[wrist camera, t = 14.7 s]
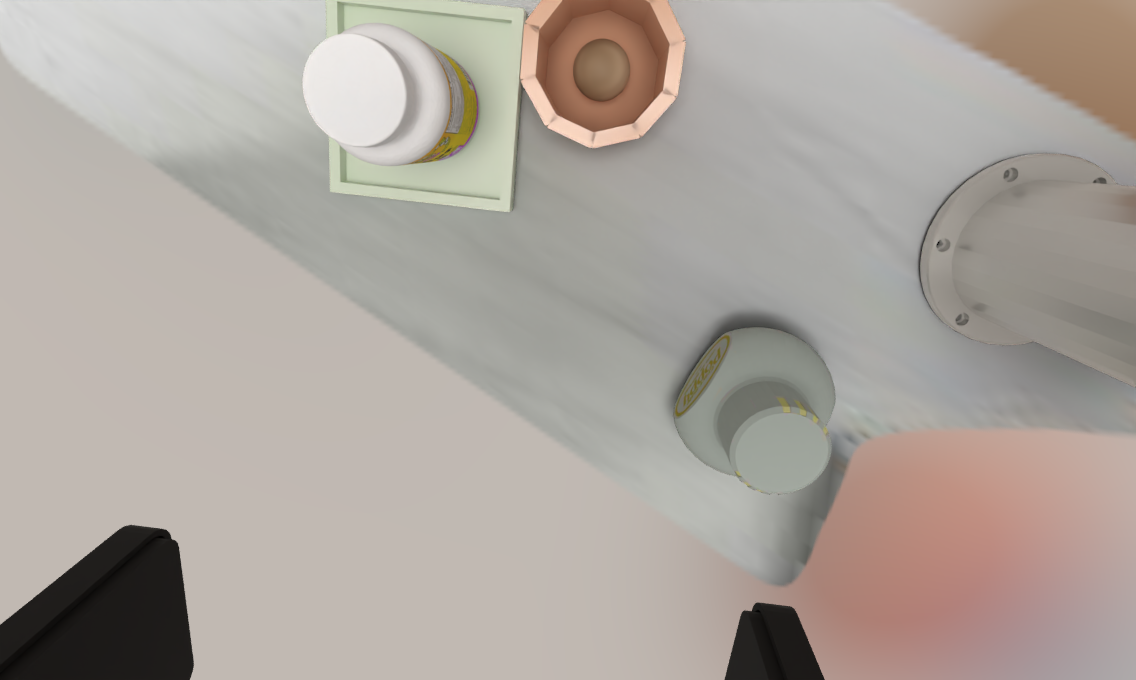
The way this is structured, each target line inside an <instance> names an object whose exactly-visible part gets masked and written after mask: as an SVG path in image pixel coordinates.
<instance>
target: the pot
mask: <svg viewBox="0 0 1136 680" xmlns="http://www.w3.org/2000/svg"><path fill="white" fill-rule="evenodd" d="M525 23H526V24H524V32H523V46H522V60H521V73H520V79H521V80H522V81H521V83H522V84H523V86H524V88H525V90H526V92H527V94H528V95H529V97H530V99H531V101H532V103H533V104H534V106H535V108H536V110H537V112H538V113H539V115H540V117H541V119H542V121H543V123H544V124H545V126H547V128H549V129H551V130H553V131H555V132H557V133H559V134H561V135H564V136H566V137H568V138H570V139H572V140H574V141H576V142H578V143H581V144H583V145H585V146H587V147H589V148H592V147H593V148H598V147H602V146H607V145H611V144H616V143H620V142H625V141H629V140H634V139H638V138H640V137H642V136H643V135H644V134H645V133H646V132H647V131H648V130H649V129H650V127H651V126H652V125H653V124H654V123H655V122H656V121H657V120H658V118H659V117H660V116H661V115H662V114H663V113H664V112H665V111H666V109H667V108H668V107H669V106H670V105H671V104H672V103H673V102H674V101H675V99H676V97H677V96H678V90H679V83H680V77H681V70H682V64H683V57H684V51H685V44H686V42H684V40H685V37H684V35H683V33H682V31H681V28H680V26H679V24H678V22H677V20H676V18H675V16H674V13H673V11H672V9H671V7H670V5H669V3H668V1H667V0H541V2H540V3H539V4H538V6H537V7H536V8H535V9H534V11H533V12H532V13H531V15H530V16H529V17H528V19H527V20H526V21H525ZM596 39H609V40H612V41H614V42H616V43H617V44H619V45H620V46H621V47H622V48H623V49H624V51H625V52H626V54H627V56H628V59H629V63H630V76H629V80H628V83H627V85H626V87H625V88H624V90H623V91H622V92H621V93H620V94H619V95H618V96H616V97H615V98H613V99H611V100H607V101H594V100H591V99H589V98H587V97H586V96H584V95H583V94H582V93H581V92H580V91H579V89H578V88H577V86H576V84H575V81H574V77H573V65H574V61H575V58H576V56H577V54H578V52H579V51H580V49H581V48H582V47H583V46H584V45H586V44H587V43H588V42H590V41H593V40H596Z"/></svg>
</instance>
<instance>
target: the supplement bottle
mask: <svg viewBox="0 0 1136 680" xmlns="http://www.w3.org/2000/svg"><path fill="white" fill-rule="evenodd" d="M302 87H303V95H304V99H305V102H306V105H307V108H308V111H309V112H310V114H311V116H312V118H313V120H314V121H315V123H316V124H317V125H318V126H319V127H320V128H321V129H322V130H323V131H324V132H325V133H326V134H327V135H328V136H330V137H331V138H332V139H334V140H335V141H336V142H337V143H338V144H339V145H340V146H341V147H342V148H343V149H344V150H346V151H347V152H348V153H350V154H351V155H353V156H355V157H356V158H358V159H360V160H363V161H365V162H368V163H371V164H375V165H380V166H400V165H409V164H418V163H426V162H434V161H440V160H444V159H447V158H449V157H452V156H454V155H455V154H457V153H458V152H460V151H461V150H462V149H463V148H464V147H465V146H466V145H467V144H468V143H469V142H470V140H471V138H472V137H473V135H474V133H475V130H476V128H477V124H478V120H479V99H478V94H477V91H476V88H475V85H474V83H473V81H472V79H471V78H470V76H469V75H468V73H467V72H466V71H465V69H464V68H463V67H462V66H461V65H460V64H459V63H458V62H456V61H455V60H454V59H453V58H451V57H450V56H448V55H447V54H445V53H443V52H442V51H440V50H438V49H436V48H434V47H433V46H431V45H429V44H428V43H426V42H424V41H422V40H421V39H419V38H418V37H416V36H414V35H413V34H411V33H409V32H407V31H405V30H403V29H401V28H399V27H396V26H393V25H389V24H383V23H365V24H360V25H356V26H353V27H351V28H349V29H347V30H345V31H344V32H342V33H340V34H337V35H334V36H331V37H329V38H327V39H325V40H324V41H322V42H321V43H320V44H319V45H317V46H316V48H315V49H314V50H313V51H312V53H311V54H310V56H309V57H308V60H307V62H306V65H305V68H304V72H303V79H302Z"/></svg>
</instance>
